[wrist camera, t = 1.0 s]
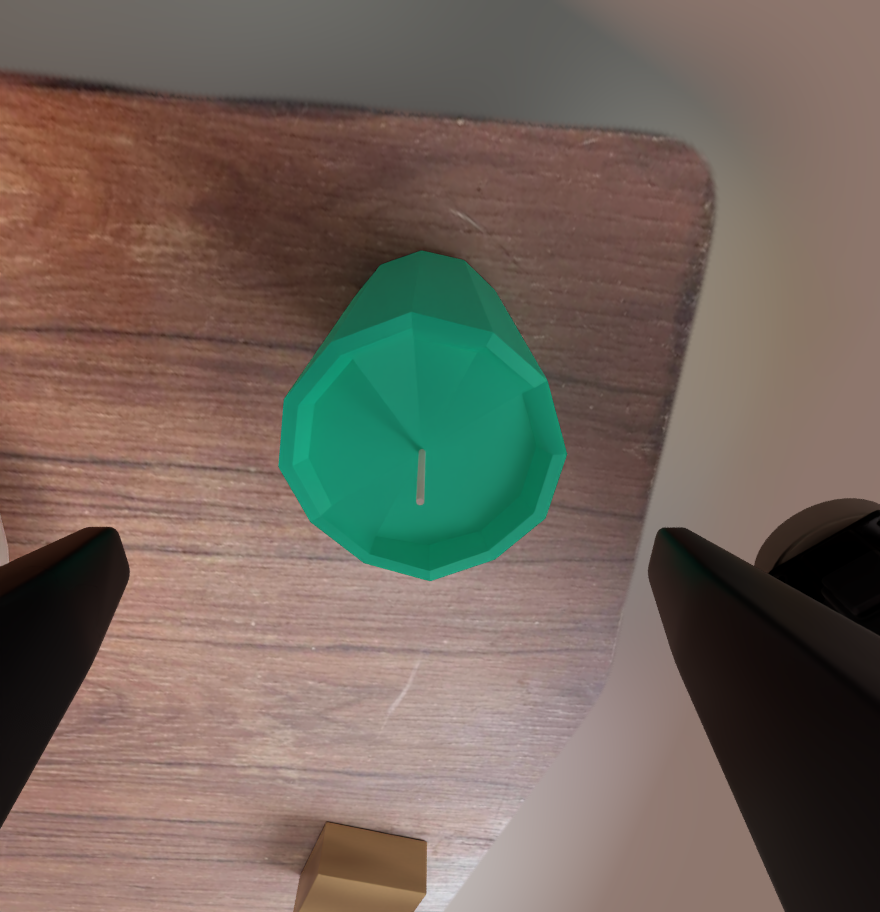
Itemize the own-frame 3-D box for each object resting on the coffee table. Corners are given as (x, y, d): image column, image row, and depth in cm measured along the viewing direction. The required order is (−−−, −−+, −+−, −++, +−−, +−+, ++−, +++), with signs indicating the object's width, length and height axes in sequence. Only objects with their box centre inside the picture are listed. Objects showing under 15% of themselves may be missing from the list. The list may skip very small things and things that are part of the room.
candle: (505, 403, 22) (575, 618, 11) (357, 411, 22) (285, 632, 11) (506, 245, 19) (601, 326, 8) (337, 255, 19) (214, 347, 8)
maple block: (393, 892, 39) (391, 944, 36) (299, 875, 38) (290, 927, 35) (427, 841, 36) (426, 894, 33) (326, 821, 35) (317, 874, 32)
